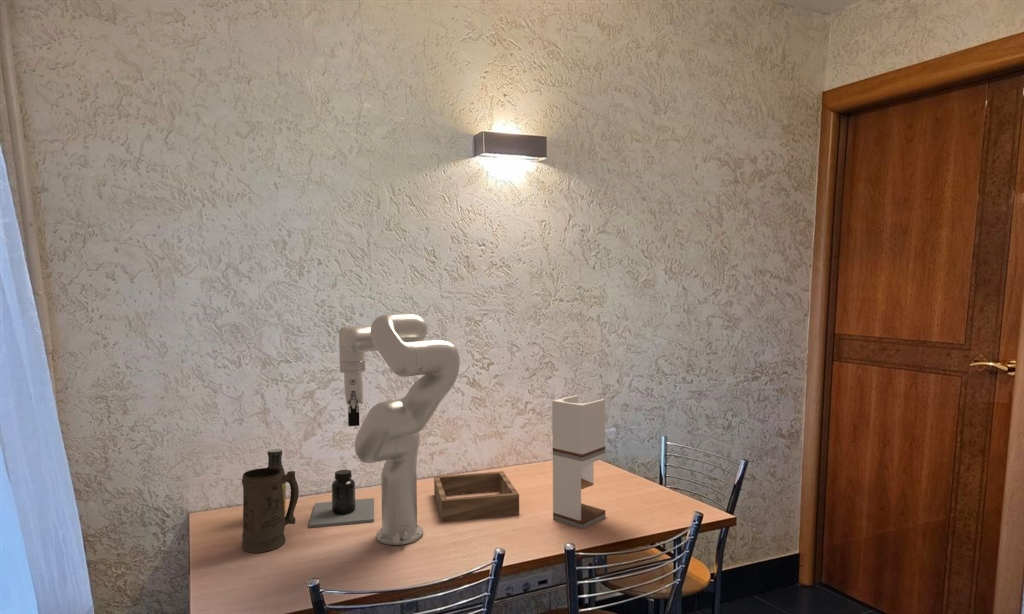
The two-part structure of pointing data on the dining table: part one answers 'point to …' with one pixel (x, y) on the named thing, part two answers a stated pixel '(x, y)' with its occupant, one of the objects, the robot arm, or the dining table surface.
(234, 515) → the dining table surface
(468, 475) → the crate
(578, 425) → the white notched column
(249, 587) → the dining table surface
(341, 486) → the supplement bottle
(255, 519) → the beer stein
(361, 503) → the mat
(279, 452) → the sauce bottle
